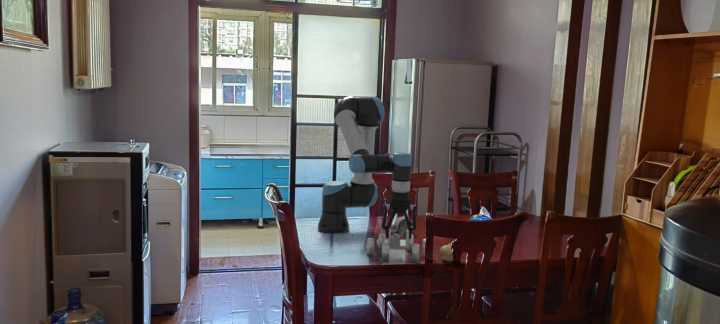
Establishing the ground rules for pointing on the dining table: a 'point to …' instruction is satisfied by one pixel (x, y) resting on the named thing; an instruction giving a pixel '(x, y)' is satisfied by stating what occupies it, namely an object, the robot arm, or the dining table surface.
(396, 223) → the ceramic mug
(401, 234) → the lighter
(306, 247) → the dining table surface
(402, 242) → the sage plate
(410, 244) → the spacer posts
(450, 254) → the onion
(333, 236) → the dining table surface
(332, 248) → the dining table surface
